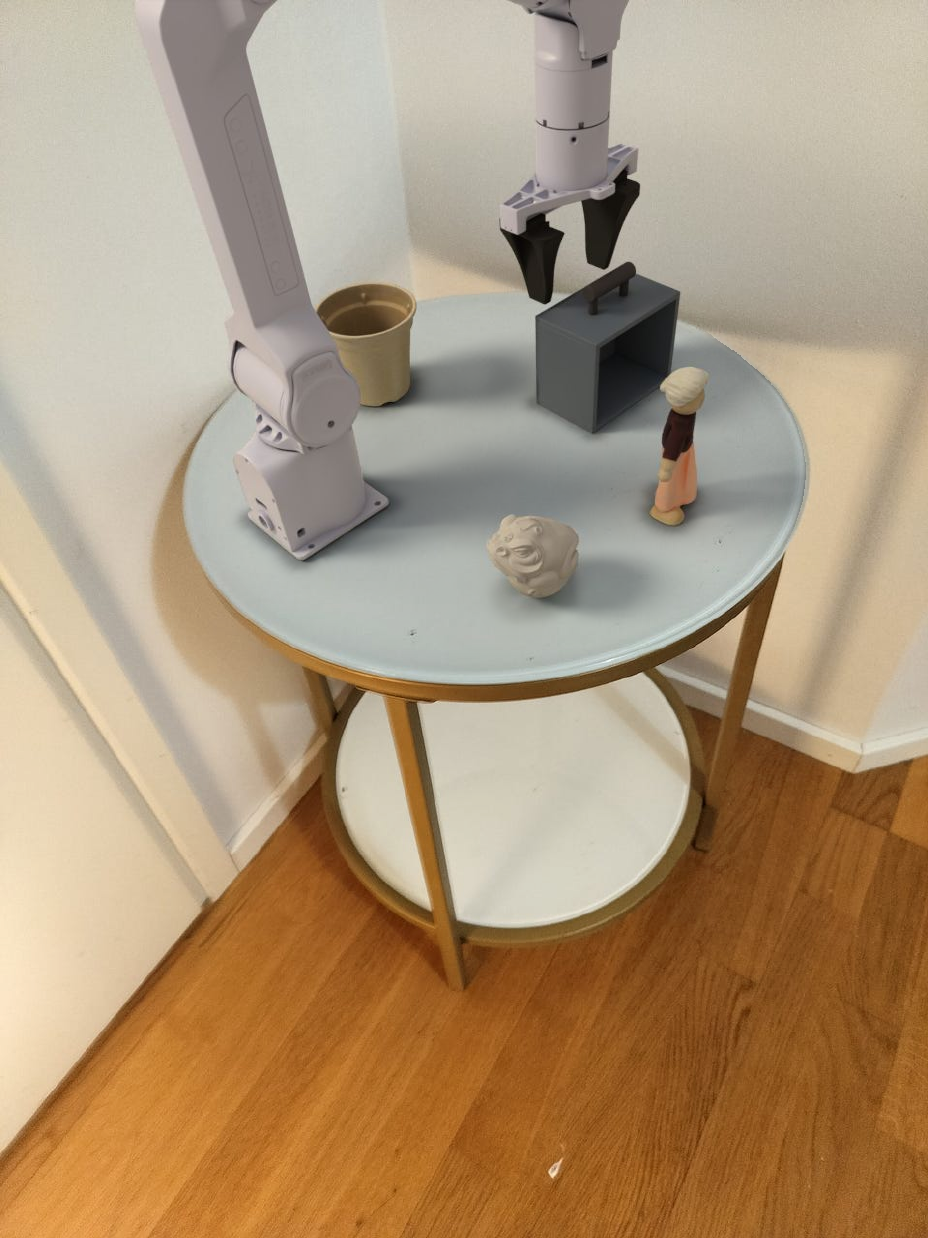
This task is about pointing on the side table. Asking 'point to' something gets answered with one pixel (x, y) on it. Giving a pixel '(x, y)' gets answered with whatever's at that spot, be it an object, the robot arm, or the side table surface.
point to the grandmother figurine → (679, 444)
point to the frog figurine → (534, 553)
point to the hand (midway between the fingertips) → (569, 282)
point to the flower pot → (372, 336)
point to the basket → (605, 347)
